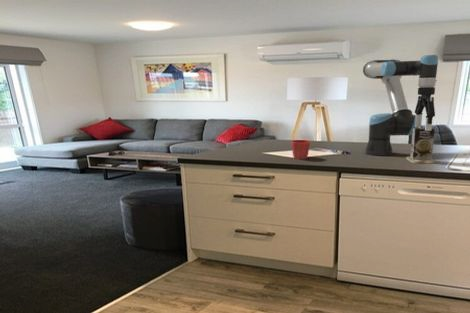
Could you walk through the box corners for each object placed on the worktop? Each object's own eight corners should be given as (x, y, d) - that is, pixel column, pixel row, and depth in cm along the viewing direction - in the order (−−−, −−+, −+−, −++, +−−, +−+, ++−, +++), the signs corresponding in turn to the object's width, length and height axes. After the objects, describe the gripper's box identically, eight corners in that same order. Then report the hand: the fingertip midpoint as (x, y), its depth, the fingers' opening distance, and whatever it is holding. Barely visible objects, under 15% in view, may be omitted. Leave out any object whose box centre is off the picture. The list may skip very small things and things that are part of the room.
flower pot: (311, 156, 197) (311, 139, 195) (308, 160, 187) (308, 142, 185) (292, 155, 200) (293, 139, 198) (289, 159, 190) (289, 142, 188)
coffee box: (412, 159, 175) (415, 128, 172) (410, 157, 181) (412, 127, 178) (432, 160, 172) (435, 128, 169) (429, 157, 178) (431, 127, 175)
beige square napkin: (413, 163, 172) (413, 160, 172) (406, 158, 183) (406, 156, 183) (436, 163, 170) (436, 161, 170) (427, 158, 181) (428, 156, 181)
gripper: (445, 87, 157) (441, 132, 161) (425, 86, 181) (421, 125, 185) (428, 87, 158) (424, 132, 162) (410, 86, 182) (407, 125, 186)
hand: (422, 128), depth 174 cm, fingers open, 13 cm apart
